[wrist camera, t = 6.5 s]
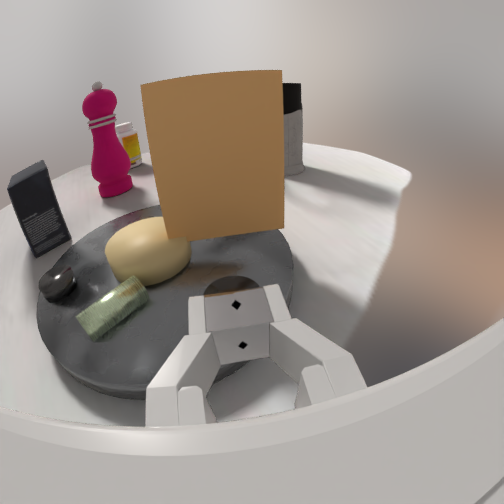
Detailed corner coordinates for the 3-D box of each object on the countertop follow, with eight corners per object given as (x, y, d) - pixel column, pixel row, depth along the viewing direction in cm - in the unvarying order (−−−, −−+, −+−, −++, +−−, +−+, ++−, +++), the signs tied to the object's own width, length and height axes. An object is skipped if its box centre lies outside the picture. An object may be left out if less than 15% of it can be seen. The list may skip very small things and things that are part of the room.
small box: (30, 234, 33) (9, 175, 27) (62, 217, 37) (44, 158, 31) (33, 260, 27) (4, 187, 21) (72, 238, 30) (48, 165, 24)
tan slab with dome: (104, 291, 18) (47, 112, 11) (121, 242, 24) (88, 102, 16) (293, 264, 20) (295, 68, 12) (271, 220, 26) (266, 72, 18)
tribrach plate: (139, 471, 10) (103, 453, 8) (26, 292, 22) (10, 263, 19) (337, 256, 24) (342, 217, 22) (174, 202, 36) (169, 175, 34)
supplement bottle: (146, 161, 58) (139, 119, 52) (135, 168, 53) (127, 124, 47) (126, 163, 58) (119, 123, 52) (115, 171, 54) (106, 128, 48)
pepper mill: (125, 196, 40) (103, 76, 29) (91, 201, 40) (67, 90, 29) (141, 180, 46) (124, 75, 35) (109, 185, 46) (90, 86, 35)
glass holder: (314, 167, 46) (315, 84, 37) (260, 190, 38) (255, 83, 29) (275, 158, 51) (273, 83, 43) (219, 178, 43) (211, 86, 34)
